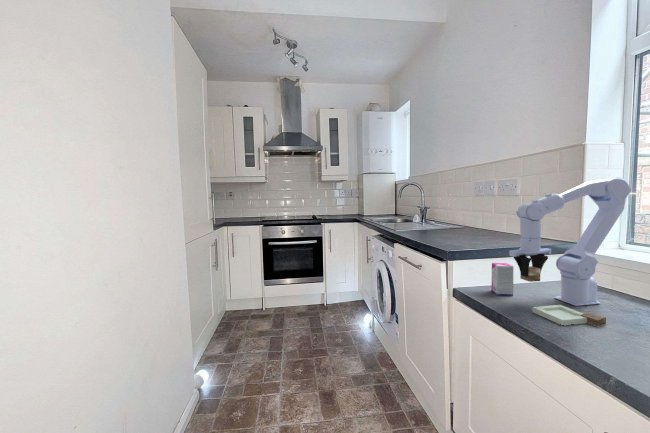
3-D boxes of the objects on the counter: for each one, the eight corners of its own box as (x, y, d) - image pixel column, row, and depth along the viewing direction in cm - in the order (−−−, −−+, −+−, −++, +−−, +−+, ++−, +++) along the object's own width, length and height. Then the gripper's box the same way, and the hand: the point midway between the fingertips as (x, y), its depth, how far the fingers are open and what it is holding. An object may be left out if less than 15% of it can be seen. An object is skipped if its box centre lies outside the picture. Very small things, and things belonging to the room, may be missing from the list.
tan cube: (530, 278, 100) (530, 266, 100) (540, 281, 96) (540, 268, 96) (520, 278, 100) (520, 266, 99) (529, 281, 96) (529, 269, 95)
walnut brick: (588, 318, 83) (588, 311, 83) (605, 324, 79) (606, 317, 79) (580, 321, 82) (580, 314, 81) (598, 327, 78) (598, 320, 78)
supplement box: (514, 296, 104) (513, 266, 104) (496, 295, 105) (496, 266, 105) (507, 291, 110) (507, 262, 109) (490, 290, 111) (490, 262, 110)
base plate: (560, 309, 90) (560, 304, 90) (593, 322, 80) (593, 317, 80) (532, 312, 89) (532, 307, 89) (562, 325, 79) (562, 320, 79)
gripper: (539, 235, 102) (539, 271, 102) (502, 237, 100) (503, 274, 101) (557, 237, 95) (557, 276, 95) (518, 239, 93) (518, 279, 94)
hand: (530, 275), depth 98 cm, fingers closed on tan cube, 4 cm apart
